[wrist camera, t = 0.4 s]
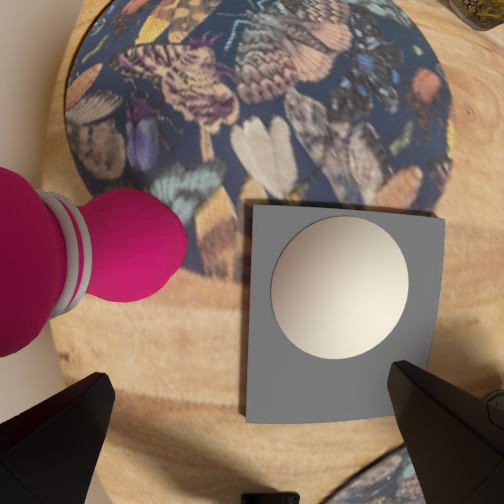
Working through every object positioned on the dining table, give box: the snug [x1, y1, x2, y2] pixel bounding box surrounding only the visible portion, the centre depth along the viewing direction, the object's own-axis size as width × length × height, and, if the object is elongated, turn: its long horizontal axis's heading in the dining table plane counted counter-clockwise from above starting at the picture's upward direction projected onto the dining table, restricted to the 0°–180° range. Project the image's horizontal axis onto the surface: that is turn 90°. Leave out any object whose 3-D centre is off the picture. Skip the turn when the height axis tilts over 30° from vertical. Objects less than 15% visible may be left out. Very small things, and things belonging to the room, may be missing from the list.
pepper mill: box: [0, 167, 187, 357], centre depth 12 cm, size 7×7×20 cm
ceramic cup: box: [449, 0, 504, 31], centre depth 14 cm, size 13×10×10 cm
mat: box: [246, 205, 445, 424], centre depth 21 cm, size 18×16×1 cm
